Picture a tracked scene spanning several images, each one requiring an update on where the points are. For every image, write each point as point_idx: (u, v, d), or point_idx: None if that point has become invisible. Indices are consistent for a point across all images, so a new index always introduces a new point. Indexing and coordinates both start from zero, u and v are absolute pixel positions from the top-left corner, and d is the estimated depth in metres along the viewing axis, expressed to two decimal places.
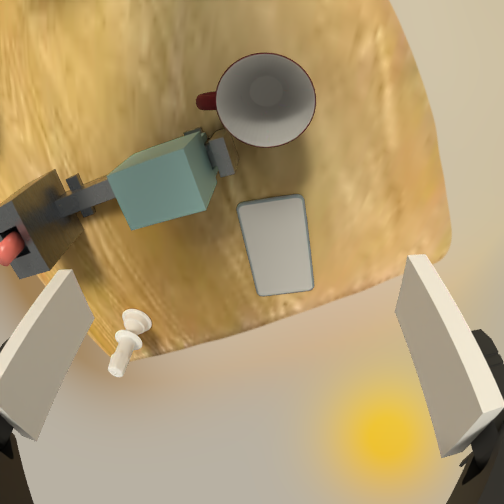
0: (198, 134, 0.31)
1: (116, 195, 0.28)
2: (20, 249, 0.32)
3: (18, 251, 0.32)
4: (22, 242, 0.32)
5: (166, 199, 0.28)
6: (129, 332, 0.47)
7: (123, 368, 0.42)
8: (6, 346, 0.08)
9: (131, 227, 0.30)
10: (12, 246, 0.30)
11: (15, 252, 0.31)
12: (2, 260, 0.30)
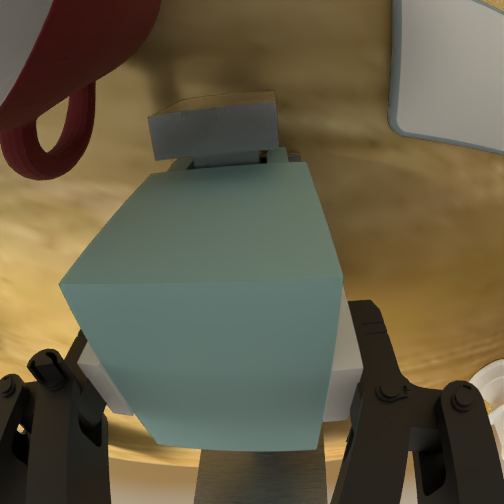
0: (148, 181, 0.11)
1: (210, 448, 0.10)
2: None
3: None
4: None
5: (247, 381, 0.08)
6: (496, 410, 0.20)
7: None
8: None
9: (308, 448, 0.10)
10: None
11: None
12: None
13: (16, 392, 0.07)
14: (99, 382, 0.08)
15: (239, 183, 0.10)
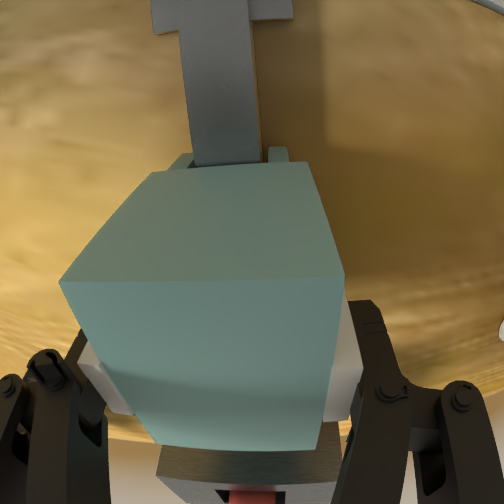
0: (148, 179, 0.11)
1: (209, 447, 0.10)
2: (266, 502, 0.14)
3: None
4: (256, 491, 0.15)
5: (246, 380, 0.08)
6: None
7: None
8: None
9: (307, 448, 0.10)
10: None
11: None
12: None
13: (16, 392, 0.07)
14: (99, 382, 0.08)
15: (240, 182, 0.10)
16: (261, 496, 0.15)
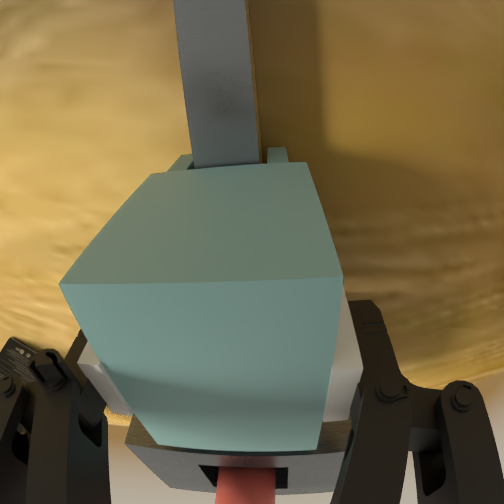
0: (148, 181, 0.11)
1: (210, 448, 0.10)
2: (263, 482, 0.12)
3: (263, 491, 0.11)
4: (251, 468, 0.12)
5: (246, 381, 0.08)
6: None
7: None
8: None
9: (308, 448, 0.10)
10: None
11: (257, 502, 0.11)
12: None
13: (16, 392, 0.07)
14: (99, 382, 0.08)
15: (239, 183, 0.10)
16: (257, 475, 0.12)
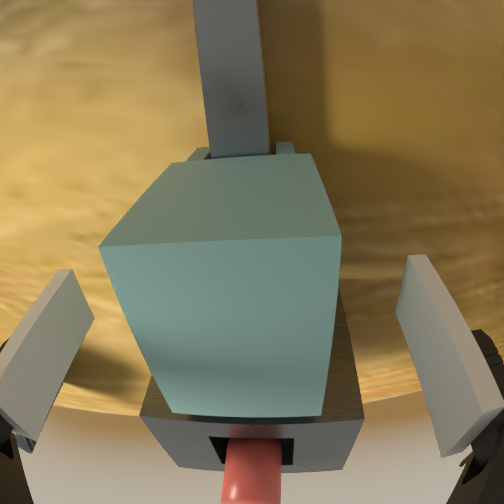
0: (170, 168, 0.13)
1: (222, 414, 0.12)
2: (270, 454, 0.13)
3: (270, 463, 0.13)
4: (259, 441, 0.14)
5: (260, 337, 0.09)
6: None
7: None
8: (6, 346, 0.08)
9: (313, 414, 0.11)
10: (245, 474, 0.12)
11: (264, 473, 0.12)
12: None
13: None
14: None
15: (252, 170, 0.12)
16: (265, 447, 0.13)
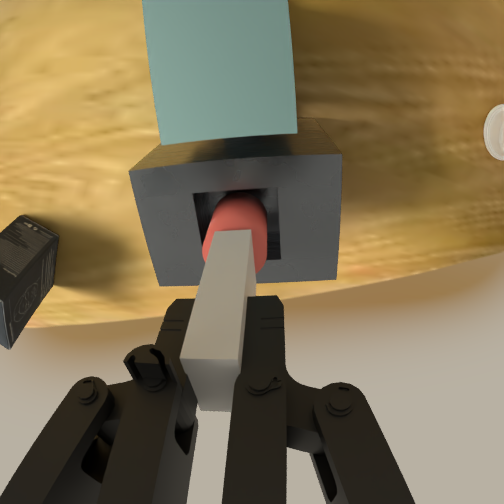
0: None
1: (207, 136, 0.13)
2: (255, 205, 0.16)
3: (254, 209, 0.15)
4: (244, 195, 0.16)
5: (238, 27, 0.11)
6: None
7: None
8: (197, 304, 0.10)
9: (290, 129, 0.13)
10: (228, 212, 0.14)
11: (248, 213, 0.15)
12: None
13: (98, 402, 0.07)
14: (200, 377, 0.08)
15: None
16: (249, 199, 0.16)
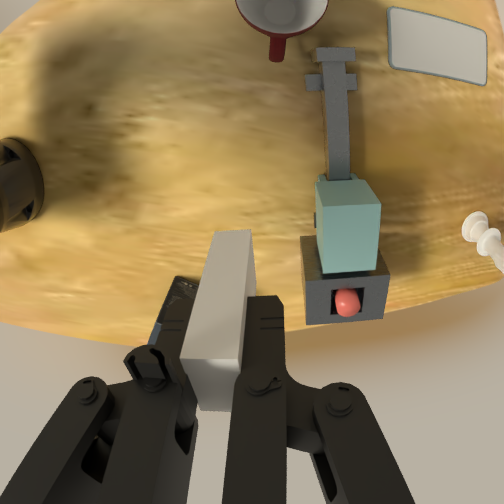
0: (317, 184, 0.36)
1: (342, 270, 0.35)
2: None
3: (353, 289, 0.37)
4: None
5: (360, 232, 0.32)
6: (482, 235, 0.37)
7: None
8: (197, 304, 0.10)
9: (373, 268, 0.34)
10: (346, 292, 0.37)
11: (352, 292, 0.37)
12: (352, 309, 0.36)
13: (98, 401, 0.07)
14: (200, 377, 0.08)
15: (349, 186, 0.35)
16: None
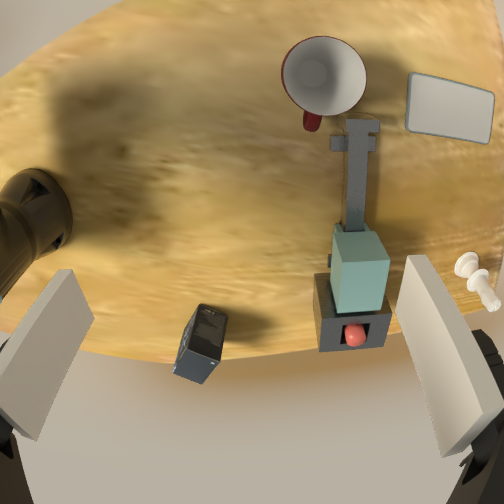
0: (335, 235, 0.42)
1: (353, 311, 0.41)
2: None
3: (360, 324, 0.43)
4: None
5: (371, 282, 0.38)
6: (472, 275, 0.43)
7: (496, 297, 0.38)
8: (6, 346, 0.08)
9: (378, 309, 0.40)
10: (354, 326, 0.43)
11: (360, 326, 0.43)
12: (359, 340, 0.42)
13: None
14: None
15: (362, 239, 0.41)
16: None
